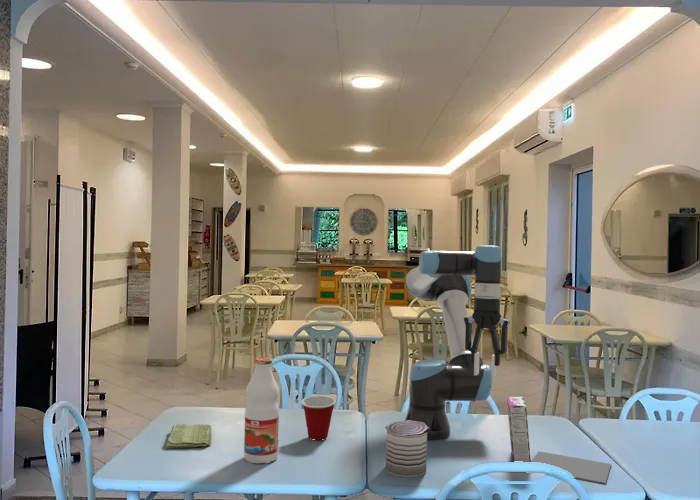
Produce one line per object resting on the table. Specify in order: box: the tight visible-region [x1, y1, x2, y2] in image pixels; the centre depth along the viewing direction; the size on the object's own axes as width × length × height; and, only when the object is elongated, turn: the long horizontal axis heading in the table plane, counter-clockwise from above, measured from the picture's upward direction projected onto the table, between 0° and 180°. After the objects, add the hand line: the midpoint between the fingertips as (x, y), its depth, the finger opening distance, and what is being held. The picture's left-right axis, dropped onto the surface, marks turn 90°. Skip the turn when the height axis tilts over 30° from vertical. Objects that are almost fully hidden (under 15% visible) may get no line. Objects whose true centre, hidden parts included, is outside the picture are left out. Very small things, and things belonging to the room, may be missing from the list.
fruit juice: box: [243, 357, 280, 464], centre depth 169 cm, size 9×9×28 cm
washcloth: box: [165, 423, 212, 449], centre depth 184 cm, size 13×18×3 cm
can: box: [384, 419, 429, 478], centre depth 163 cm, size 11×11×12 cm
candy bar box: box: [506, 396, 532, 462], centre depth 175 cm, size 11×5×16 cm, turn 169°
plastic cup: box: [300, 395, 337, 441], centre depth 188 cm, size 11×11×12 cm
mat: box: [531, 450, 612, 485], centre depth 168 cm, size 20×16×1 cm
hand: (485, 375), depth 180 cm, fingers open, 4 cm apart
